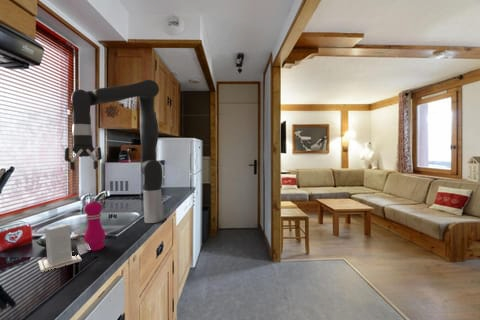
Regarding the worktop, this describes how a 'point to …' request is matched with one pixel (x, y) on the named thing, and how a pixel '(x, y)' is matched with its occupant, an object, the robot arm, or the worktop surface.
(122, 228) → the worktop surface
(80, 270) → the worktop surface
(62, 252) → the skincare box
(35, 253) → the worktop surface
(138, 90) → the robot arm
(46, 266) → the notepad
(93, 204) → the pepper mill
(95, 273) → the worktop surface
